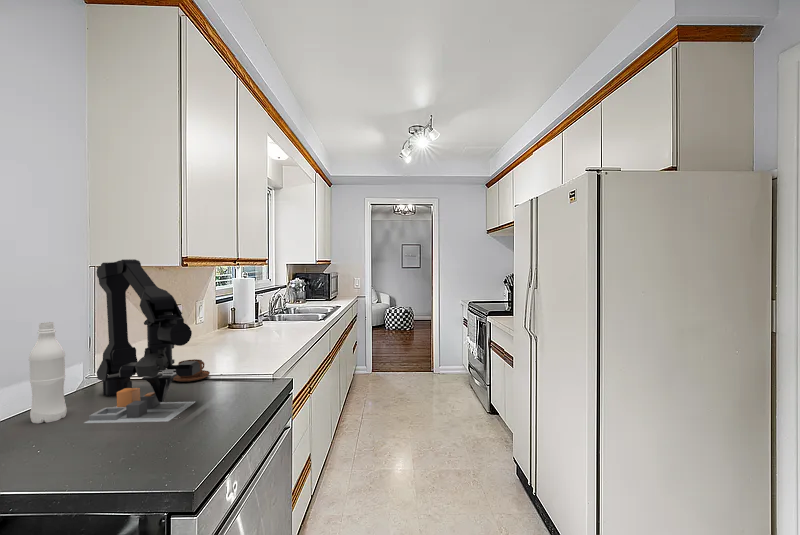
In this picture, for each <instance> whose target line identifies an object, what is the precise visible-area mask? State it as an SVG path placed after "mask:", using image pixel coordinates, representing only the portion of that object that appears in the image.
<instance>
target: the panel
mask: <svg viewBox="0 0 800 535" xmlns="http://www.w3.org/2000/svg"><path fill="white" fill-rule="evenodd" d="M195 403H196V401H163V402H160V404H159V405H157V406H155V407H154V408H147V401H141V400H140V401H134V402H132V403H130V404H128V405H126V407H117V405H116V406H115V405H114V406H113V407H112V406H111V407H110V406H108V407H106V406H105V407H103V408H101V409H99V410H98V411H95V412H94V413H92V414H89V415H88V419H89V420H86V421H84V424H107V423H109V424H112V423H156V422H157V423H158V422H159V423H160V422H166V423H167V422H170V421H171V420H172V419H174V418H175V417H177V416H178V415H179V414H181V413H183V412H184V411H186V409H189V407H191V406H192V405H194V404H195Z"/></svg>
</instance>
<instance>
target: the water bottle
mask: <svg viewBox="0 0 800 535" xmlns="http://www.w3.org/2000/svg"><path fill="white" fill-rule="evenodd" d="M37 331H38V332H37V334H38V338H37V340H36V343H35V344H34V346H33V347H32V349H31V351H30V353H29V356H28V361H29V383H30V388H31V394H32V395H31V405H30V406H31V407H30V410H29V411H30V412H29V414H30V415H29V417H30V421H31V423H33V424H42V423H51V422H57V421H60V420H61V419H63V418H65V417H66V415H67V410H68V409H67V405H66V401H65V393H64V392H65V380H66V379H65V378H66V362H65V361H66V360H65V357H66V353H65V350H64V348H63V346H62V345H61V344H60V342H59V341H58V339H57V337H56V332H57V331H56V330H55V323H54V321H52V322H51V321H49V322H48V321H47V322H39V323H38V330H37Z"/></svg>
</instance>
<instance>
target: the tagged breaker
mask: <svg viewBox="0 0 800 535" xmlns="http://www.w3.org/2000/svg"><path fill="white" fill-rule="evenodd" d="M140 401H147V408H154V407H155V406H157V405H159V404H160V402H159V401H158V399H157V397H156V394H155V392H154V391H151V392H147V393H146V394H144V395H141V396H140Z"/></svg>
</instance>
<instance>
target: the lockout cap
mask: <svg viewBox="0 0 800 535" xmlns="http://www.w3.org/2000/svg"><path fill="white" fill-rule="evenodd" d="M134 401H141V388H140V387H132V388H125V389H123V390H121V391H118V392H117V396H116V406H117V407H126V405H128V404H130V403H132V402H134Z"/></svg>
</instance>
